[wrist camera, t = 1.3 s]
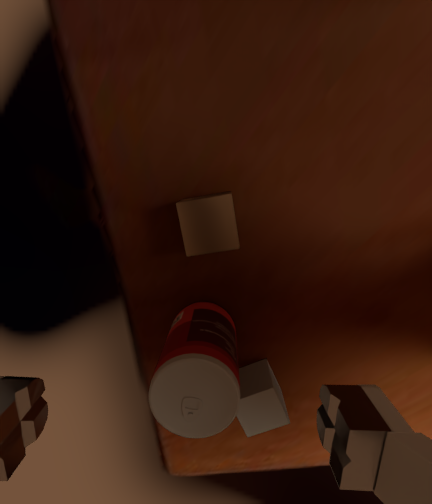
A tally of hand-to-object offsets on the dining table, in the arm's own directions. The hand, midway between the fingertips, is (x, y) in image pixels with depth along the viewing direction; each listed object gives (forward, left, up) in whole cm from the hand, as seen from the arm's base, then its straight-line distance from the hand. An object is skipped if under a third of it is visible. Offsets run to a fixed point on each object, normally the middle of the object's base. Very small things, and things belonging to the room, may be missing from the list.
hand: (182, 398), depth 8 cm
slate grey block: (-2, +19, -23) cm, 30 cm away
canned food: (+3, +11, -23) cm, 26 cm away
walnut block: (0, -2, -23) cm, 23 cm away
